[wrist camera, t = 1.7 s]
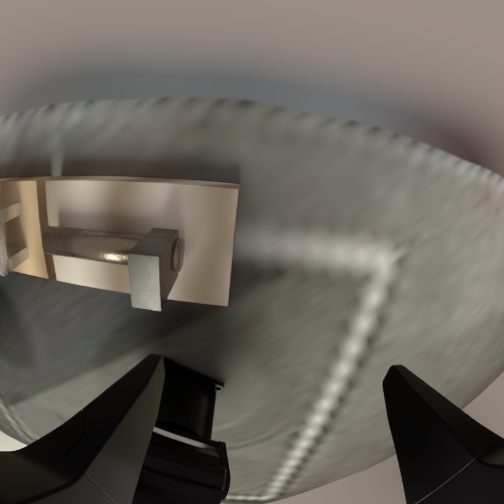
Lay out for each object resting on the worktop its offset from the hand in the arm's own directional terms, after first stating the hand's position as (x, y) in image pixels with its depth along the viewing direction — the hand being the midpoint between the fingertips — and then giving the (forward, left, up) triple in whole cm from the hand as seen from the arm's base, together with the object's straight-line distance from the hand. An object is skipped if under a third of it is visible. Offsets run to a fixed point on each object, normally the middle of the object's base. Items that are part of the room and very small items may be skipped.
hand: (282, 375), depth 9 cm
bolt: (+9, +4, -10) cm, 14 cm away
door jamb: (+13, +6, -12) cm, 19 cm away
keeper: (+19, +9, -10) cm, 23 cm away
